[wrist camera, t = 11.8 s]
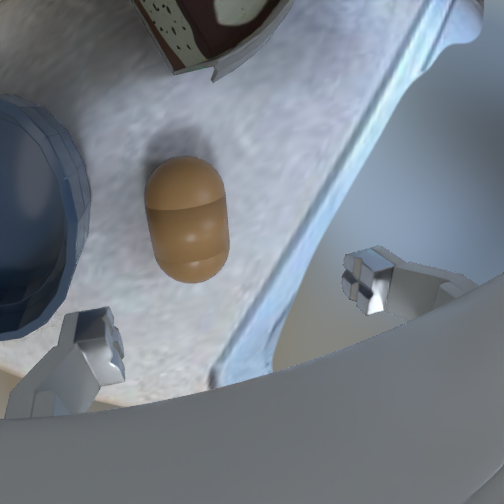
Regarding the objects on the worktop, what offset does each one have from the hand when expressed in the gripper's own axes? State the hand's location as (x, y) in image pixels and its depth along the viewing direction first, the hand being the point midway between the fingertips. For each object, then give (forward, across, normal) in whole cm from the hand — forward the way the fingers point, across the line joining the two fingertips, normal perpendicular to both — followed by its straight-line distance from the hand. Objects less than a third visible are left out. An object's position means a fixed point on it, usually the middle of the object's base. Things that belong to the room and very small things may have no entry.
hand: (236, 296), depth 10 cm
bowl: (+12, +13, -2) cm, 18 cm away
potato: (+11, 0, +1) cm, 11 cm away
